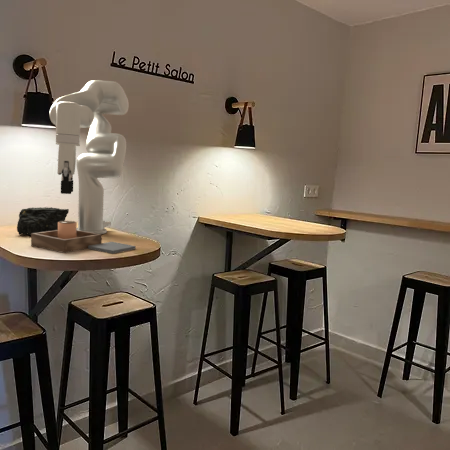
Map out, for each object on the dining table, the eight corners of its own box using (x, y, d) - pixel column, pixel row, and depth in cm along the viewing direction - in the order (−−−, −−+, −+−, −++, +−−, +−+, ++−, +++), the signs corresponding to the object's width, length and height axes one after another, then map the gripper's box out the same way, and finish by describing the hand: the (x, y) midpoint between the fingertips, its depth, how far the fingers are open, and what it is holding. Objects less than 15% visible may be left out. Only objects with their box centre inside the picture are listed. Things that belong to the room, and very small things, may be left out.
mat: (111, 244, 160) (111, 241, 160) (135, 249, 154) (135, 246, 154) (88, 248, 150) (88, 245, 150) (112, 253, 145) (112, 250, 145)
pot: (67, 243, 157) (68, 220, 156) (80, 245, 154) (80, 222, 153) (53, 245, 152) (53, 221, 151) (66, 248, 149) (66, 223, 148)
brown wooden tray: (69, 239, 164) (69, 228, 163) (101, 245, 156) (101, 234, 156) (31, 245, 150) (31, 233, 149) (64, 252, 142) (64, 240, 142)
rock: (22, 230, 178) (16, 236, 163) (22, 206, 176) (15, 209, 162) (69, 230, 183) (67, 236, 168) (69, 207, 181) (67, 210, 167)
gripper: (58, 141, 155) (57, 190, 157) (53, 138, 139) (52, 194, 141) (81, 142, 157) (80, 191, 159) (78, 140, 141) (77, 195, 143)
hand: (67, 192), depth 150 cm, fingers open, 9 cm apart
